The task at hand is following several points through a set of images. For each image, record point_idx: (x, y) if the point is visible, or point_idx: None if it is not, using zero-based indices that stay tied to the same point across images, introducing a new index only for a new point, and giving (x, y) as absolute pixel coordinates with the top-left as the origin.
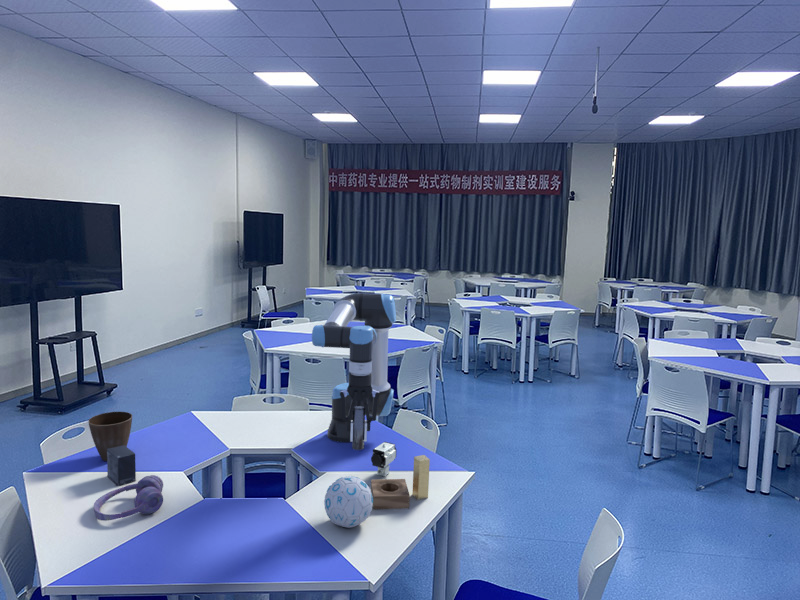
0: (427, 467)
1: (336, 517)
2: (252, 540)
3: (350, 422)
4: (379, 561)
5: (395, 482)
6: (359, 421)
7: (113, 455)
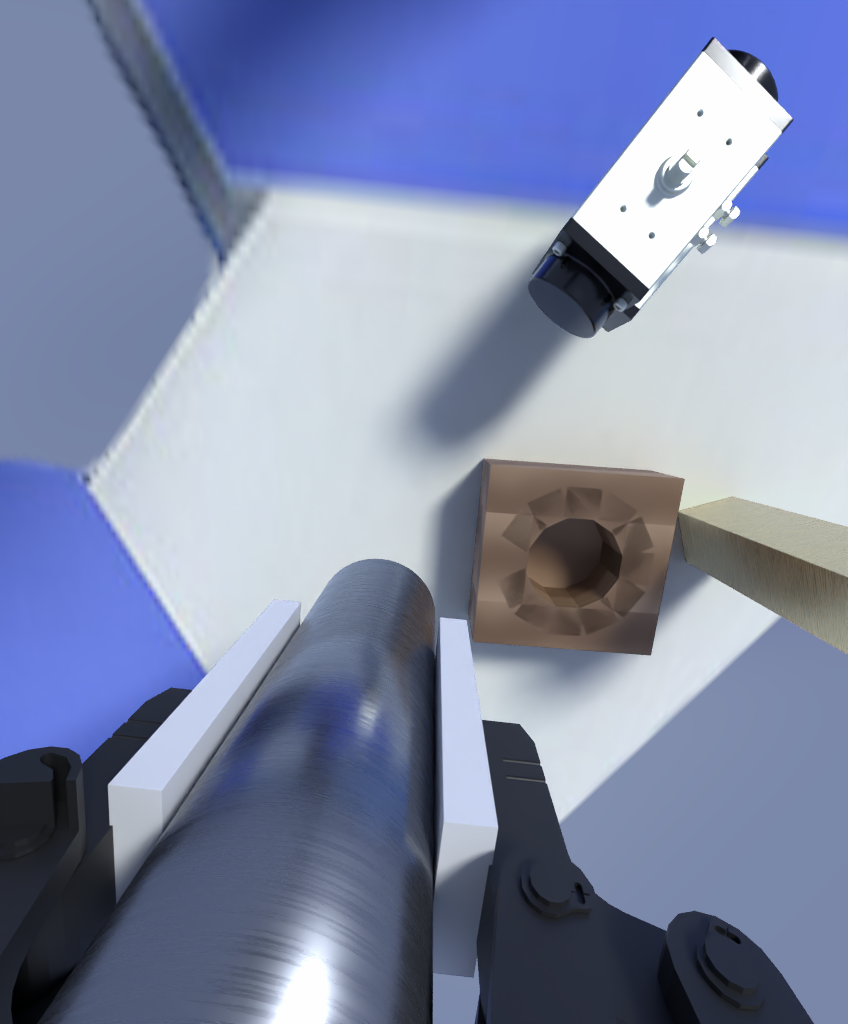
0: None
1: None
2: (24, 749)
3: (107, 900)
4: None
5: (618, 515)
6: None
7: None
